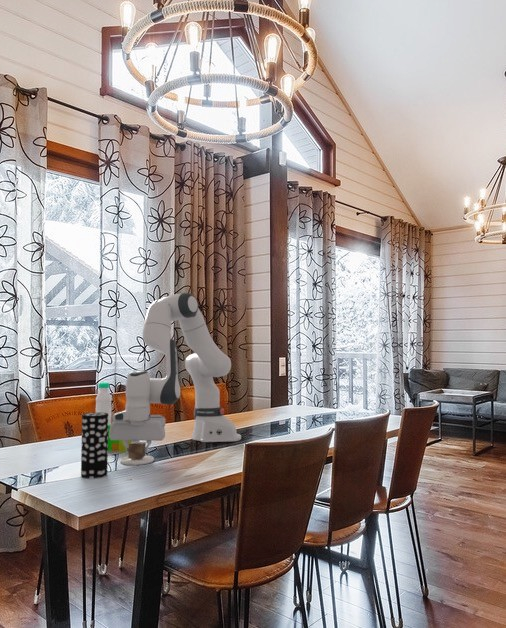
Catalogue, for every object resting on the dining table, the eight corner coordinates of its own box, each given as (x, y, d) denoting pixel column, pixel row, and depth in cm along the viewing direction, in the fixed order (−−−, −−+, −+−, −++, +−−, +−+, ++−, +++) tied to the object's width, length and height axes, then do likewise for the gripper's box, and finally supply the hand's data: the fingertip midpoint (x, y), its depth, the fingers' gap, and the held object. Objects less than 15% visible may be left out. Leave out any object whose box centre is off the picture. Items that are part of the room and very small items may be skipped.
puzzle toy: (139, 447, 216) (139, 423, 217) (126, 452, 207) (126, 427, 207) (118, 445, 220) (119, 422, 220) (104, 450, 210) (105, 425, 211)
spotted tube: (84, 472, 175) (85, 412, 176) (109, 471, 176) (110, 412, 177) (78, 478, 167) (79, 416, 168) (104, 478, 167) (105, 415, 169)
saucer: (157, 458, 197) (157, 455, 197) (149, 465, 185) (149, 462, 185) (125, 457, 197) (125, 455, 197) (116, 465, 185) (116, 462, 185)
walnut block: (145, 455, 193) (145, 442, 194) (142, 458, 188) (142, 444, 189) (132, 455, 194) (132, 441, 194) (128, 458, 189) (128, 444, 189)
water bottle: (113, 436, 241) (114, 382, 242) (107, 439, 234) (108, 383, 235) (98, 436, 242) (99, 382, 243) (92, 438, 235) (93, 383, 236)
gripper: (167, 413, 195) (166, 450, 194) (113, 413, 195) (112, 450, 195) (163, 416, 188) (163, 454, 188) (108, 415, 189) (107, 454, 188)
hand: (137, 452), depth 191 cm, fingers closed on walnut block, 5 cm apart
